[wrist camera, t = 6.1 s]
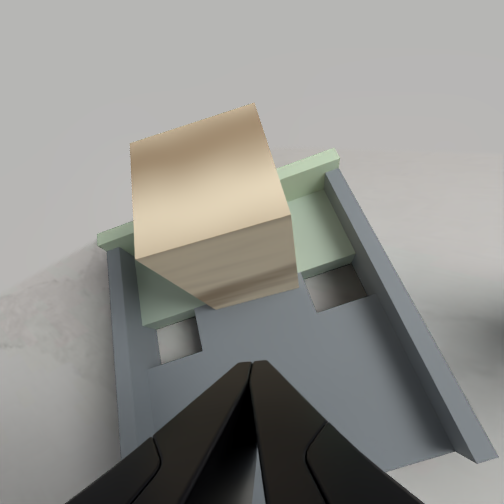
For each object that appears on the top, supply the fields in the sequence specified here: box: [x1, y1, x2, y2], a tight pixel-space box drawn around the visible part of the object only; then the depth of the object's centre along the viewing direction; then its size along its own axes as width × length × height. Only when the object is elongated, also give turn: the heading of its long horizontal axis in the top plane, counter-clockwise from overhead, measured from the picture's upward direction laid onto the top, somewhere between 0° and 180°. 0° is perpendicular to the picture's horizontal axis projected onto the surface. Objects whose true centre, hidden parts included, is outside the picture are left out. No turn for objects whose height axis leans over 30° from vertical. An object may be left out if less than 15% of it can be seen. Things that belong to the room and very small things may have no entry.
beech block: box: [130, 103, 299, 310], centre depth 16 cm, size 6×6×10 cm
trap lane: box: [97, 148, 499, 504], centre depth 18 cm, size 18×18×5 cm
